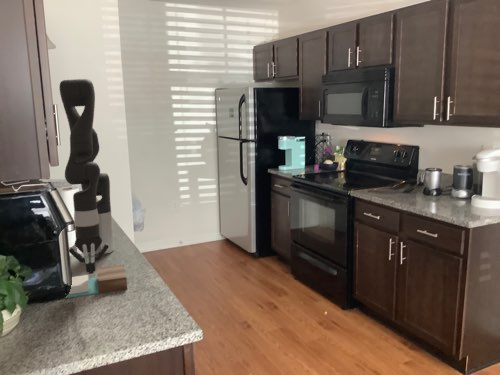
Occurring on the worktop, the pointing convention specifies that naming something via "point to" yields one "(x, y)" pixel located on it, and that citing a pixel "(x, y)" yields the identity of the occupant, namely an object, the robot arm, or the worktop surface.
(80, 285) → the tile
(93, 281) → the mat
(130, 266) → the worktop surface
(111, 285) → the board
